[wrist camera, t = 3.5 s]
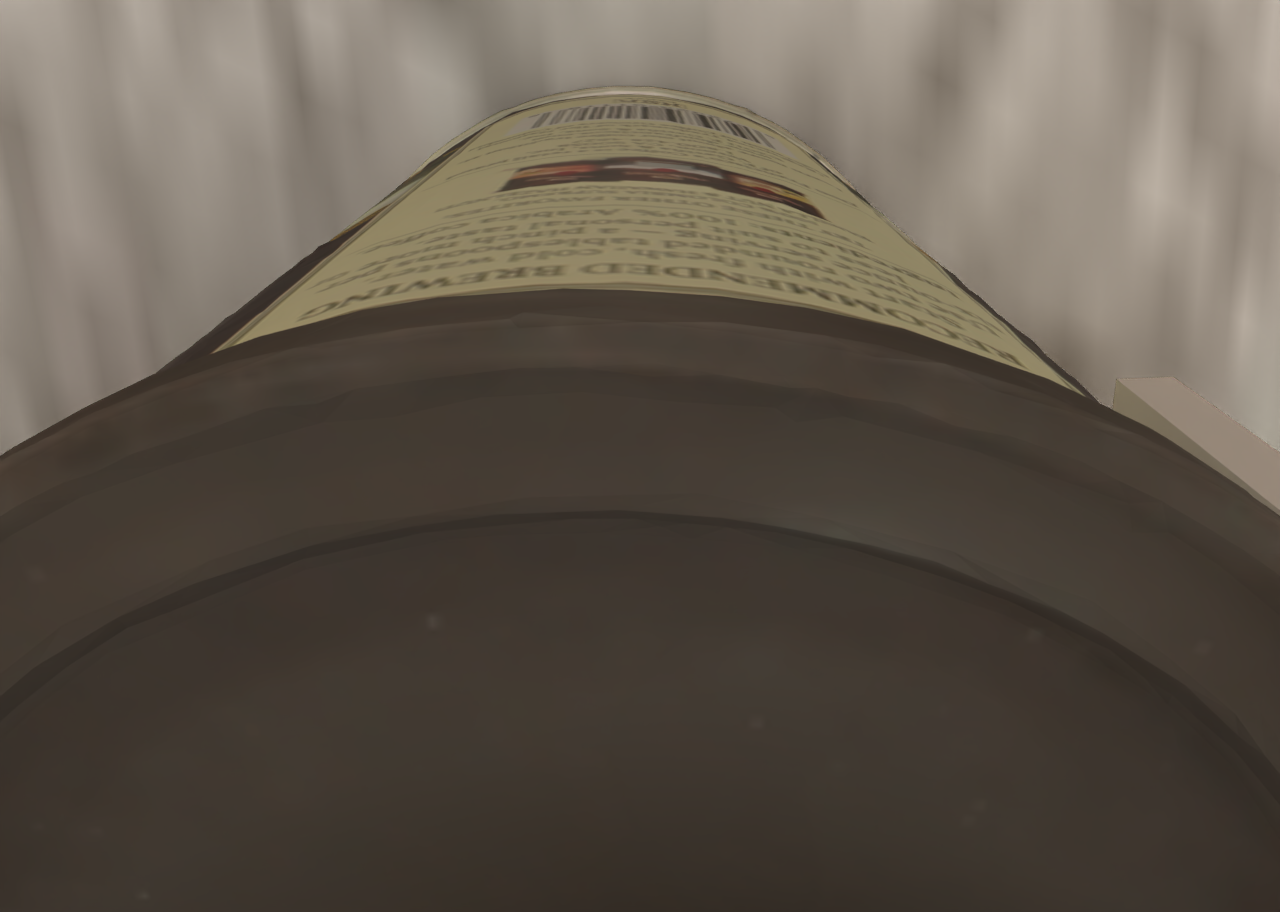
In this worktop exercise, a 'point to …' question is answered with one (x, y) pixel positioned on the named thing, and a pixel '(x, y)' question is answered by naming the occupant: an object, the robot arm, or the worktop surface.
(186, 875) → the coffee can
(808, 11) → the worktop surface
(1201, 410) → the robot arm
